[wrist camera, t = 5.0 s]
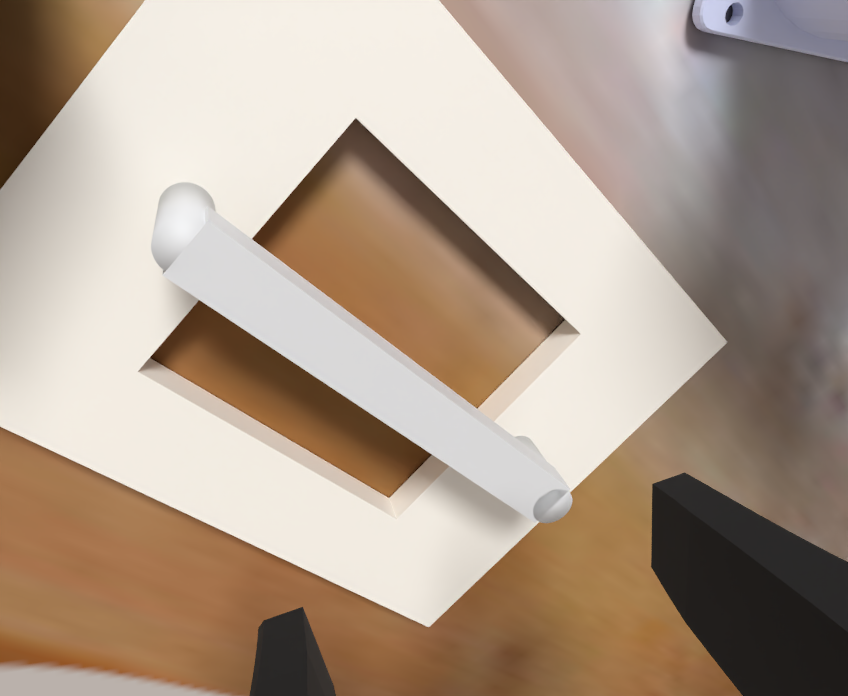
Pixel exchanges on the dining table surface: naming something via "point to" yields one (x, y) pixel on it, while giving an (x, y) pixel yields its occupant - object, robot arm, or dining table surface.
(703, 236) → the dining table surface
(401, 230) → the dining table surface
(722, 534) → the robot arm
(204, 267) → the cream frame with handle
